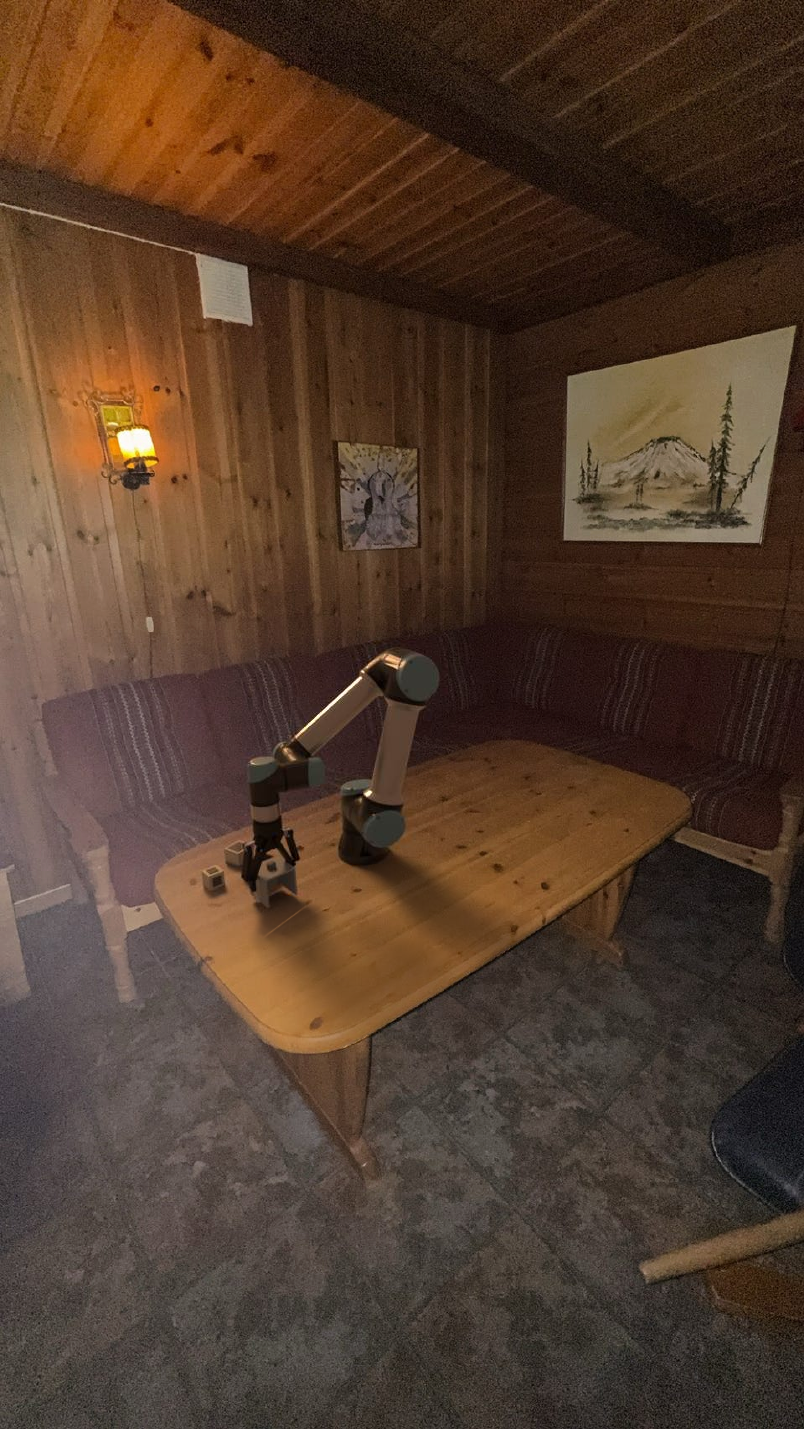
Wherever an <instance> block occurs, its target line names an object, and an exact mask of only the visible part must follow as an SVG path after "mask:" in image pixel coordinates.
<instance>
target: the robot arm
mask: <svg viewBox="0 0 804 1429" xmlns="http://www.w3.org/2000/svg"><path fill="white" fill-rule="evenodd" d="M439 685H440V672H439V668H438V667H437V665H436V664H435V662H434V661H433V660H432V659H431V658H429V657H428V656H426V655H424V654H423V653H419V652H418V651H417V652H416V651H413V650H410V649H408V648H405V647H397V646H396V647H395V646H394V647H391V648H388V649H386V650H383V651H382V652H381V653H379V654H378V655H377V656H375V657H374V658H373V659H372V660H370V662H368V663H367V664H366V665H365V666H363V668H362V669H360V671H359V676H358V677H357V678H356V679H355V680H354V681H353V682H351V684H350V685H349V686H347V687H346V688H345V689H344V690H343V691H342V692H341V693H340V694H339V695H338V696H337V697H336V698H335V699H333V700H332V701H331V702H330V703H329V704H328V705H327V706H326V707H325V708H323V710H321V711H320V712H319V713H318V714H317V715H316V716H315V717H314V718H313V719H311V721H309V722H308V723H307V724H306V725H305V726H304V727H303V728H302V729H300V730H299V731H298V732H297V734H295V735H294V736H293V737H292V738H291V739H289V741H288V740H287V741H282V742H279V743H278V744H277V745H275V747H274V748H273V751H272V756H269V755H268V756H258V757H253V758H252V759H251V760H249V761H248V763H247V765H246V767H247V768H246V769H247V771H246V772H247V773H246V776H247V778H246V779H247V786H248V794H249V803H250V804H249V806H250V814H251V824H252V827H251V828H252V833H253V838H252V840H251V841H250V842H245V841H244V842H245V843H243V849H244V856H243V865H242V866H241V873H240V874H241V875H240V878H241V879H242V880H243V881H244V882H246V883H249V885H248V886H249V890H251V891H252V892H253V896H252V897H253V899H254V901H256V902H257V903H258V904H260V903H261V893H260V883H259V880H258V879H257V876H258V873H259V870H260V867H261V864H262V861H263V858H264V857H265V856H266V853H268V852H270V851H272V850H277V851H278V853H279V854H280V856H281V858H282V859H283V860H285V861H286V862H288V863H289V864H290V865H292V866H293V867H296V865H297V862H298V861H300V860H301V856H300V853H299V851H298V847H297V845H296V844H297V843H296V842H295V841H296V840H295V838H294V829H293V828H290V827H289V826H286V827H285V828H283V818H282V815H281V814H282V807H281V806H282V805H281V796H280V795H281V794H285V793H288V792H295V791H300V790H304V789H313V788H315V787H319V786H322V785H323V784H324V783H325V781H326V770H325V765H324V762H323V759H321V758H320V757H313V756H314V755H315V754H317V753H318V752H319V751H320V749H322V747H324V746H325V745H327V743H328V742H329V741H330V740H331V739H332V738H334V737H335V735H337V734H338V733H339V732H340V731H342V729H344V727H346V726H347V725H348V724H349V723H350V722H351V721H352V720H353V719H354V718H355V717H356V716H358V715H359V714H360V713H361V712H362V711H363V710H364V709H365V708H366V707H367V706H369V704H371V703H372V702H373V701H374V700H375V699H376V698H377V697H383V698H384V700H385V701H386V703H387V707H386V713H385V717H384V721H383V725H382V726H383V727H382V730H381V731H382V732H381V735H380V739H379V740H380V741H379V745H378V750H377V754H376V759H375V764H374V768H373V773H372V777H371V779H368V778H367V779H366V778H365V779H364V778H363V779H354V780H350V781H348V782H344V784H342V785H341V787H340V795H339V797H340V808H341V824H342V832H341V835H340V839H339V842H338V846H337V855H338V858H339V860H341V861H342V862H344V863H346V864H350V865H355V866H363V865H364V866H366V865H372V864H375V863H377V862H381V861H382V860H384V859H385V858H386V856H387V854H388V852H389V851H388V850H389V849H388V847H391V846H393V845H394V844H396V843H397V842H399V841H400V840H401V839H402V837H403V835H404V833H405V831H406V828H407V826H406V825H407V823H406V820H405V816H404V815H403V814H402V812H403V808H404V804H405V799H404V797H403V796H402V794H401V792H402V788H403V783H404V778H405V776H406V775H405V774H406V771H407V766H408V763H409V756H410V752H411V748H412V744H413V740H414V736H415V730H416V727H417V726H416V725H417V720H418V719H419V718H418V717H419V713H420V711H421V710H423V709H425V708H426V707H427V704H428V699H430V698H431V697H432V696H433V695H434V694H436V692H437V690H438V687H439ZM283 837H284V838H285V841H286V845H287V848H288V851H289V852H288V851H287V849H286V848H285V845H284V844H283V843H282V839H283ZM255 846H256V847H255ZM254 848H255V849H254ZM253 851H254V859H253V862H252V858H253ZM261 904H262V903H261Z"/></svg>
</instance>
